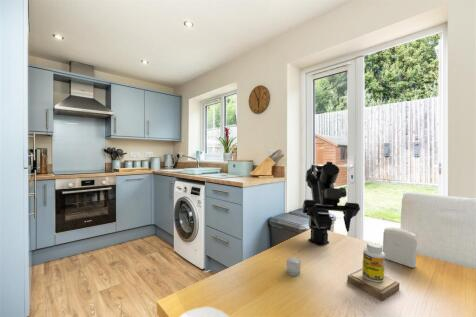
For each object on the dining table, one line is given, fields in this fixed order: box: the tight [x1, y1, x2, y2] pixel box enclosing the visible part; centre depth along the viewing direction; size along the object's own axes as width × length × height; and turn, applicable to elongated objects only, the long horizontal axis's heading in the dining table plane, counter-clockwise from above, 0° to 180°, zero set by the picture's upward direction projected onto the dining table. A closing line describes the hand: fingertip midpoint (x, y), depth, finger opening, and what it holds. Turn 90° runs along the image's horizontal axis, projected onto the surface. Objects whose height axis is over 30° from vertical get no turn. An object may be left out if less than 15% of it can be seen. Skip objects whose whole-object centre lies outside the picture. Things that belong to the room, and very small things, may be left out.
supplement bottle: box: [361, 241, 386, 282], centre depth 67 cm, size 6×6×10 cm
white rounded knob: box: [286, 257, 302, 277], centre depth 73 cm, size 4×4×4 cm
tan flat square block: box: [346, 267, 400, 302], centre depth 67 cm, size 10×10×2 cm
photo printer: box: [382, 226, 418, 269], centre depth 82 cm, size 10×4×12 cm, turn 39°
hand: (333, 230), depth 75 cm, fingers open, 9 cm apart
